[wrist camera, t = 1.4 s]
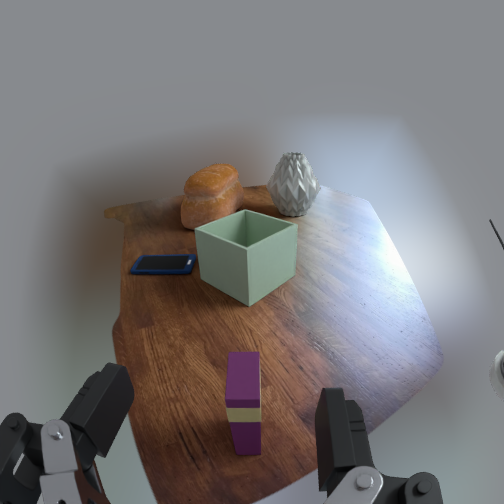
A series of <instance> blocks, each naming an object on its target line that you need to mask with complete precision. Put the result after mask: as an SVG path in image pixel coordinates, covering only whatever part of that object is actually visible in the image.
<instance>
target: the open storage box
mask: <svg viewBox="0 0 504 504" xmlns="http://www.w3.org/2000/svg"><path fill="white" fill-rule="evenodd" d="M297 227H298V224H295V223H291V222H288V221H284V220H281V219H278V218H274V217H271V216H267V215H264V214H260V213H257V212H253V211H250V210H246V209H245V210H242V211H239V212H237V213H234V214H231V215H228V216H226V217H223V218H221V219H218V220H215V221H213V222H210V223H207V224H205V225H202V226H200V227H197V228H195V237H196V245H197V253H198V261H199V269H200V275H201V279H202V280H204V281H205V282H207V283H209V284H210V285H212V286H214V287H215V288H217V289H219V290H221V291H222V292H224V293H226V294H228V295H229V296H231V297H233V298H235V299H236V300H238V301H240V302H242V303H243V304H245V305H247V306H249V307H250V306H251V305H253V304H254V303H256V302H257V301H259V300H260V299H261V298H263V297H264V296H266V295H267V294H269V293H270V292H272V291H273V290H275V289H276V288H278V287H279V286H280V285H282V284H283V283H285V282H286V281H288V280H289V279H290V278H292V277H293V276H295V269H296V250H297Z"/></svg>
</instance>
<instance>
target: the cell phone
mask: <svg viewBox="0 0 504 504" xmlns="http://www.w3.org/2000/svg"><path fill="white" fill-rule="evenodd" d="M195 260H196V255H195V254H179V255H142V256H140V257H139V258H138V260H137V261H136V262H135V264H134V265H133V267H132V268H131V270H130V271H131V273H132V274H189V273H191V271H192V268H193V266H194V263H195Z"/></svg>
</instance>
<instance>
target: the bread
mask: <svg viewBox="0 0 504 504" xmlns="http://www.w3.org/2000/svg"><path fill="white" fill-rule="evenodd" d="M238 178H239V176H238V172H237V170H236V169H235V168H234V167H233V166H231V165H229V164H214V165H211V166H209V167H206V168H204V169H201V170H200V171H198V172H196V173H195V174H194V175H192V176H190V177H189V179H188V180H187V181H186V184H185V187H184V193H185V197H184V200H183V202H182V205H181V221H182V224H183V225H184V227H185V228H188V229H192V230H195V228H197V227H200V226H202V225H205V224H207V223H210V222H213V221H215V220H218V219H221V218H223V217H226V216H228V215H231V214H234V213H235V212H236V210H237V209H239V208H240V207H241V206H242V203H243V198H244V193H243V189H242V187H241V185H240V183H239V181H238Z"/></svg>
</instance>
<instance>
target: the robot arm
mask: <svg viewBox="0 0 504 504" xmlns="http://www.w3.org/2000/svg"><path fill="white" fill-rule="evenodd" d="M490 223H491V225H492V227H493V229H494V231H495V233H496V235H497V237H498V239H499V241H500V243H501V244H502V247H503V249H504V244H503V242H502V240H501V238H500V236H499V234H498V232H497V231H496V229H495V227H494V225H493V223H492V221H491V220H490ZM500 369H501V373H502V376H503V378H504V356H503V358H502V360H501V363H500ZM133 400H134V389H133V386H132V383H131V380H130V377H129V374H128V371H127V368H126V367H125V366H122V365H118V364H113V363H107V364H106V365H105V367H104V368H103V370H102V371H101V372H98V371H97V372H96V373H95V374H93V375H92V376H90V377H89V378H88V379H87V380H86V382H85V383H84V385H83V387H82V388H81V389H80V390H79V392H78V394H77V395H76V396H75V398H74V399H73V401H72V402H71V404H70V405H69V406H68V408H67V409H66V411H65V413H64V414H63V416H62V417H61V418H60V419H53V420H50V421H48V422H46V423H45V424H44V425H42V424H36V423H29V422H28V421H27V420H26V418H25V417H24V416H23V415H22V414H20V413H11V414H9V415H8V416H7V417H6V418H5V419H4V420H3V422H2V423H1V425H0V504H37V501H38V499H39V497H40V494H41V492H42V496H43V501H44V504H111V503H110V502H109V500H108V499H107V497H106V495H105V492H104V489H103V486H102V483H101V480H100V477H99V473H98V471H97V467H96V463H95V461H94V458H95V456H96V454H97V455H99V456H101V457H104V458H105V457H106V455H107V453H108V451H109V449H110V447H111V445H112V443H113V441H114V439H115V437H116V435H117V433H118V431H119V429H120V427H121V425H122V423H123V421H124V419H125V417H126V415H127V413H128V411H129V409H130V407H131V405H132V403H133ZM315 432H316V446H317V462H318V479H319V491H327V500H326V501H325V502H324V503H323V504H443V500H442V495H441V490H440V486H439V482H438V480H437V478H436V477H435V476H434V475H432V474H430V473H426V472H420V473H416V474H414V475H413V476H411V477H410V478H398V477H390V476H385V475H384V474H382V473H380V472H379V471H378V470H377V469H376V468H375V466H374V464H373V461H372V456H371V451H370V446H369V441H368V436H367V432H366V427H365V423H364V419H363V414H362V410H361V408H360V407H359V406H358V404H357V403H356V402H355V401H354V400H345V397H344V392H343V389H342V388H323V389H322V392H321V395H320V399H319V402H318V406H317V409H316V413H315ZM22 453H23V454H24V457H23V459H22V461H21V463H20V465H19V467H18V469H17V471H16V473H15V475H13V469H14V467H15V465H16V463H17V461H18V460H19V458H20V456H21V454H22Z"/></svg>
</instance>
